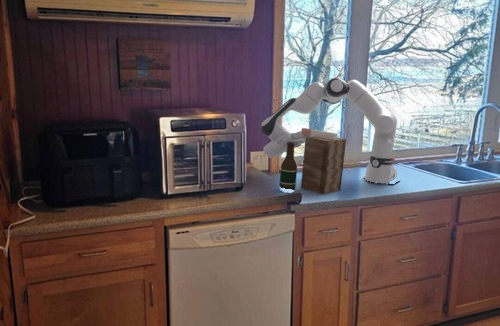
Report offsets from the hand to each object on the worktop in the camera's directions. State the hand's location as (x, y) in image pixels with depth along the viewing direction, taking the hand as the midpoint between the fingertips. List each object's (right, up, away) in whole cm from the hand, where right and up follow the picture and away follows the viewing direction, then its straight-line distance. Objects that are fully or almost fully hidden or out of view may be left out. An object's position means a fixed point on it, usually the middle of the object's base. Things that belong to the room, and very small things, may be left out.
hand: (307, 132), depth 232 cm
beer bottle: (-11, -30, -12) cm, 34 cm away
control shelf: (+7, -29, -3) cm, 30 cm away
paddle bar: (+5, -3, -5) cm, 8 cm away
